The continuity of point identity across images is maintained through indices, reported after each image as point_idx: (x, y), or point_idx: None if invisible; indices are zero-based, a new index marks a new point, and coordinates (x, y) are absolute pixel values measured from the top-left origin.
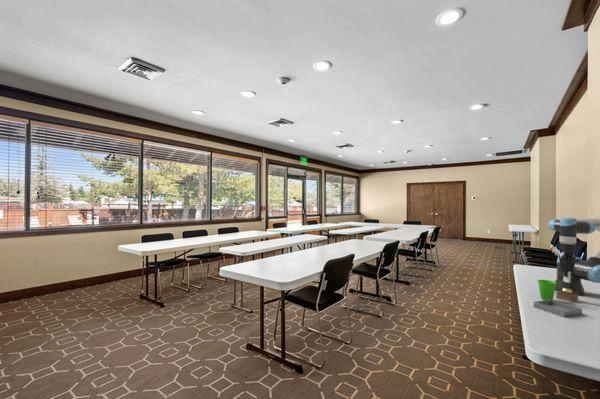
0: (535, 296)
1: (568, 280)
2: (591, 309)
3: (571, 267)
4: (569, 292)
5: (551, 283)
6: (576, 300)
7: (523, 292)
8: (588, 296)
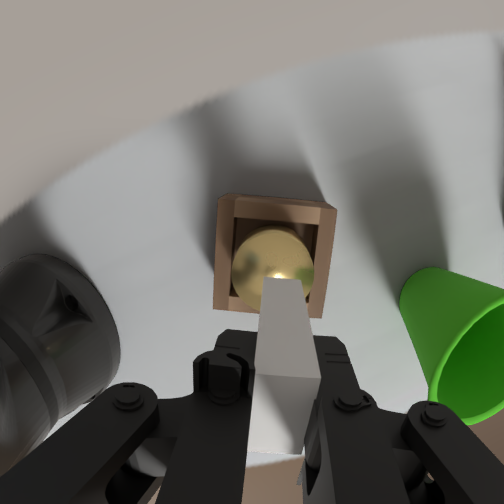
0: (408, 358)
1: (303, 295)
2: (371, 61)
3: (180, 458)
4: (296, 237)
5: (437, 356)
6: (245, 195)
7: None
8: (36, 227)
